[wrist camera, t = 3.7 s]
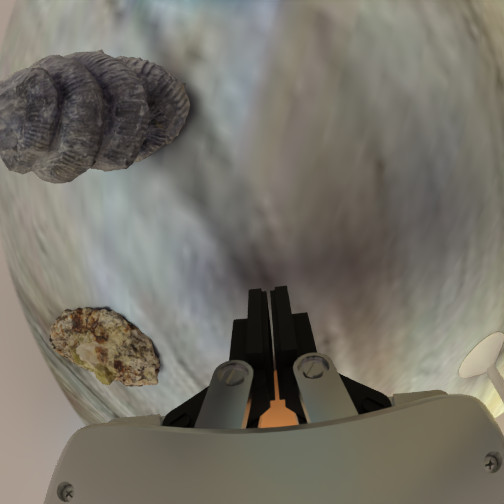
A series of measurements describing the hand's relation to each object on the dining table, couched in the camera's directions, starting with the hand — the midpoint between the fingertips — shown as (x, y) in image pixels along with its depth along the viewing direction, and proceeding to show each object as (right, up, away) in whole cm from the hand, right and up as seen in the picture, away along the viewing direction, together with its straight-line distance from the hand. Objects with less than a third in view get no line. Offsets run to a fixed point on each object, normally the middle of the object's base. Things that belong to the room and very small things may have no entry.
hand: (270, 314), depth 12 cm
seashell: (-6, +10, 0) cm, 12 cm away
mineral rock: (-13, -4, +8) cm, 16 cm away
